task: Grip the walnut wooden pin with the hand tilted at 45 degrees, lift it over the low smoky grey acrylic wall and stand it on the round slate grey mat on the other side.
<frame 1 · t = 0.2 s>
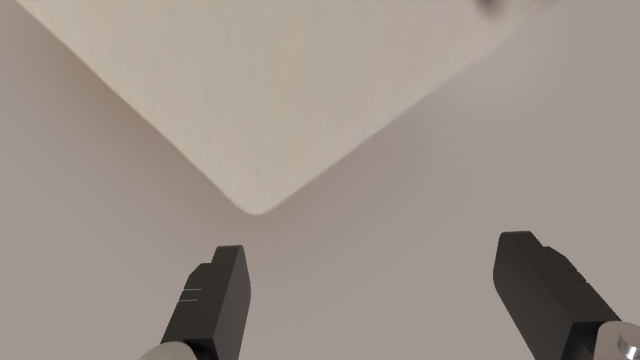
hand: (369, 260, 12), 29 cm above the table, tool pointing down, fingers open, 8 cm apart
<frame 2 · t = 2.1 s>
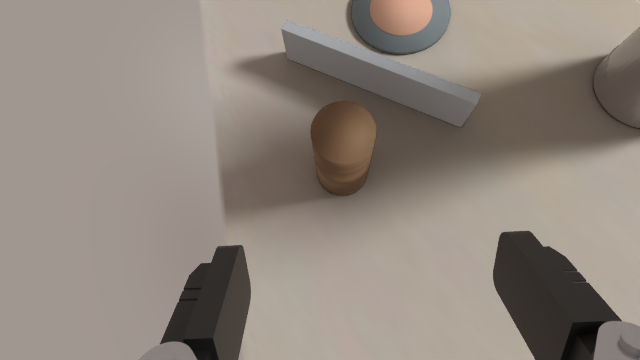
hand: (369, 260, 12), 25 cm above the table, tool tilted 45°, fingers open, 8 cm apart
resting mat: (400, 12, 44), on the table
acrylic wall: (372, 87, 42), on the table
walnut pin: (342, 171, 39), on the table
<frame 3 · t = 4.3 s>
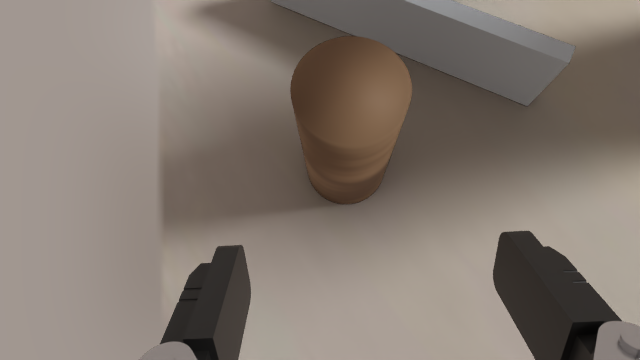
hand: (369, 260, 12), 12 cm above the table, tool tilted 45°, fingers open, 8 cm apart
acrylic wall: (394, 44, 28), on the table
walnut pin: (345, 167, 26), on the table
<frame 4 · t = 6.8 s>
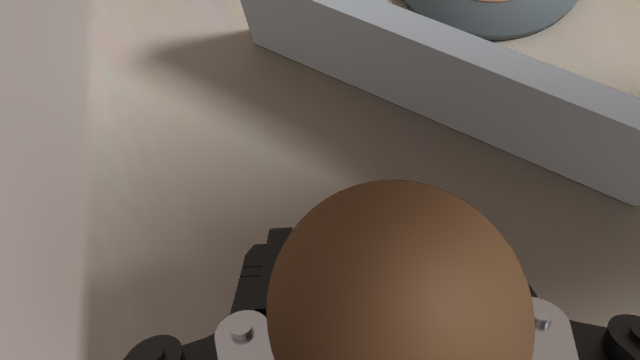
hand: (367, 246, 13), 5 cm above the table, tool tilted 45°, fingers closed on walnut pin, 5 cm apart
acrylic wall: (432, 107, 20), on the table
walnut pin: (363, 303, 17), on the table, touching gripper
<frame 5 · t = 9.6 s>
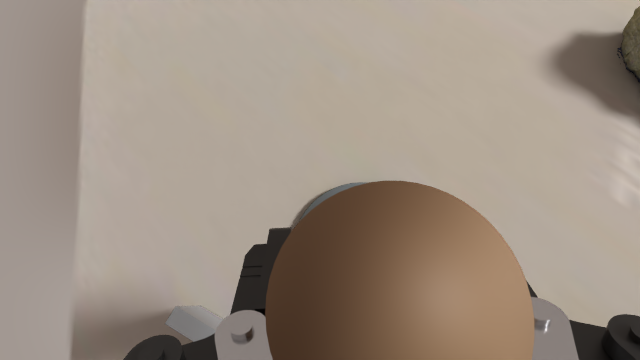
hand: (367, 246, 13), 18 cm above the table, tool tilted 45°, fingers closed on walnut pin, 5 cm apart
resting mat: (363, 251, 30), on the table
walnut pin: (362, 304, 17), point 13 cm above the table, touching gripper
when the fingers open (7 cm above the table, at t = 12.6 s): walnut pin drops 1 cm, resting on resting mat.
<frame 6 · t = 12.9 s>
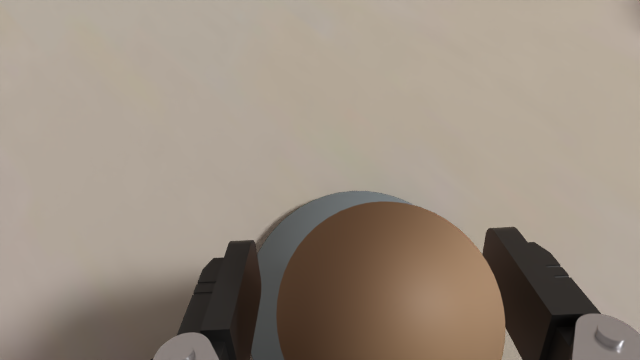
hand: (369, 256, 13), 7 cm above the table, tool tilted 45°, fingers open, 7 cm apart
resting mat: (360, 304, 19), on the table
walnut pin: (360, 306, 18), point 1 cm above the table, touching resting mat
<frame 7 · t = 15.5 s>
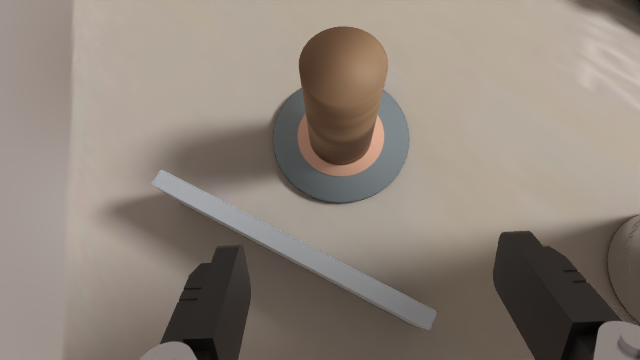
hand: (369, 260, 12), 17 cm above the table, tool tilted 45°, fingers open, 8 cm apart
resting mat: (340, 138, 32), on the table
acrylic wall: (293, 253, 30), on the table
walnut pin: (340, 136, 32), point 1 cm above the table, touching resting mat
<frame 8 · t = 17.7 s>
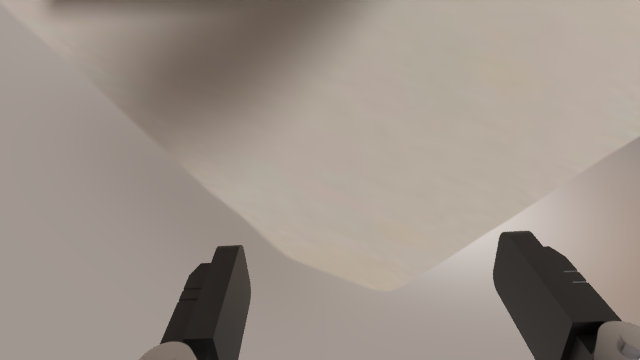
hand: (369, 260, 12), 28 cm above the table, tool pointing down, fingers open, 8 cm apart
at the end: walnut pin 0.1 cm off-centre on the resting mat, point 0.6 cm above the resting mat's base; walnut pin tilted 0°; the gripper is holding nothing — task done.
